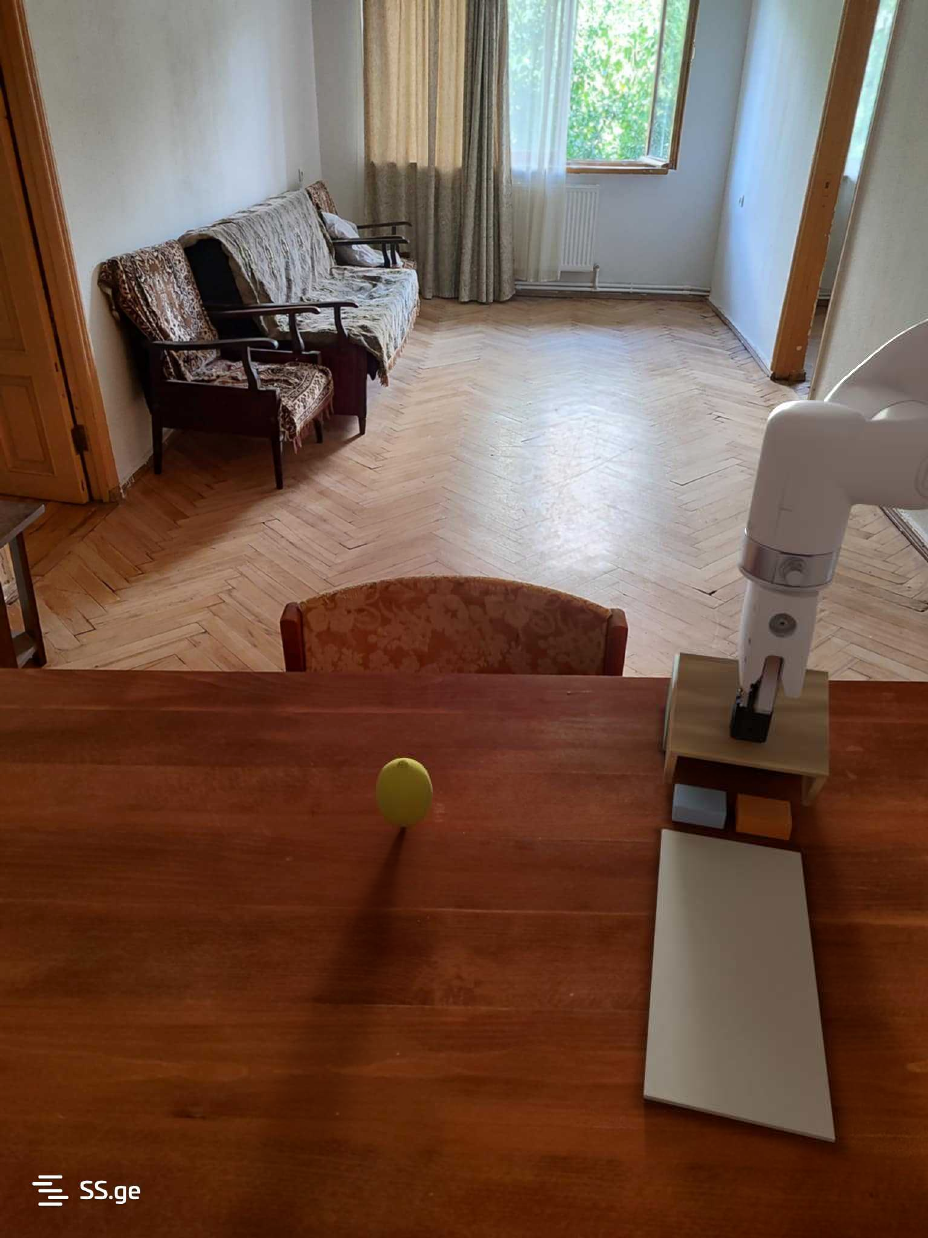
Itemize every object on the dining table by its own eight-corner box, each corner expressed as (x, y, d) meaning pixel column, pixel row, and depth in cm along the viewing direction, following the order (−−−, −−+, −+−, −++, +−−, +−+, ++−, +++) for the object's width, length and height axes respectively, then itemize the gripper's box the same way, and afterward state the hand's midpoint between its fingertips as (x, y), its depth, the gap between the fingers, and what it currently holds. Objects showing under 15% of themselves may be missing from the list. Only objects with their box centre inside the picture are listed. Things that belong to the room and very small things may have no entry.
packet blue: (673, 798, 91) (675, 783, 90) (722, 806, 90) (725, 791, 89) (671, 820, 88) (674, 805, 87) (723, 829, 87) (726, 814, 86)
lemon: (426, 847, 85) (426, 783, 81) (370, 840, 86) (367, 776, 82) (437, 808, 90) (437, 746, 86) (384, 802, 90) (381, 740, 86)
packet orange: (734, 808, 90) (738, 793, 89) (785, 816, 89) (789, 801, 88) (735, 831, 87) (739, 816, 86) (788, 840, 86) (792, 825, 85)
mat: (661, 831, 87) (662, 828, 87) (799, 855, 84) (800, 852, 84) (643, 1098, 63) (644, 1095, 63) (834, 1143, 61) (835, 1139, 61)
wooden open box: (680, 651, 88) (669, 750, 82) (828, 671, 85) (829, 775, 79) (672, 691, 94) (662, 786, 88) (809, 711, 91) (808, 810, 85)
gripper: (848, 604, 65) (796, 795, 74) (825, 526, 78) (783, 697, 87) (744, 591, 67) (705, 780, 76) (737, 516, 79) (705, 686, 88)
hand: (747, 735), depth 81 cm, fingers closed
